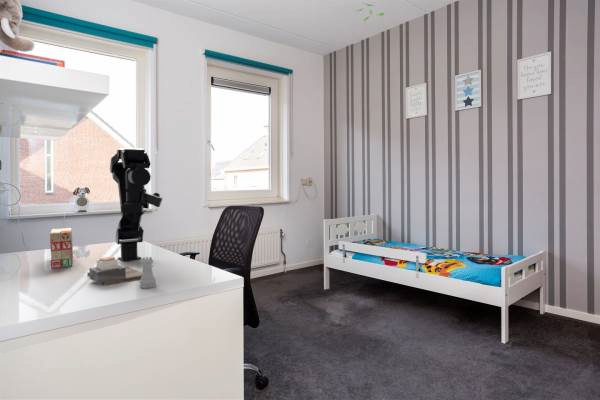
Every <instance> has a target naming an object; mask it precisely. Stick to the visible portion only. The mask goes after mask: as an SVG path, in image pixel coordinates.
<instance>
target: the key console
mask: <svg viewBox="0 0 600 400" xmlns="http://www.w3.org/2000/svg"><path fill="white" fill-rule="evenodd" d="M86 273H87V277H89V279H90V280H92V281H94V282H95V283H97V284H101V283H102V285H103V286H106V287H107V286H110V285H116V284H122V283H126V282H133V281H137V280H141V278H142V273H143V271H140V270H137V269H134V268H133V267H130V266H122V265H120V264H118V268H116V269H110V270H104V271H100V270H98V269H97V266H95V267H89V272H86Z"/></svg>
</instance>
